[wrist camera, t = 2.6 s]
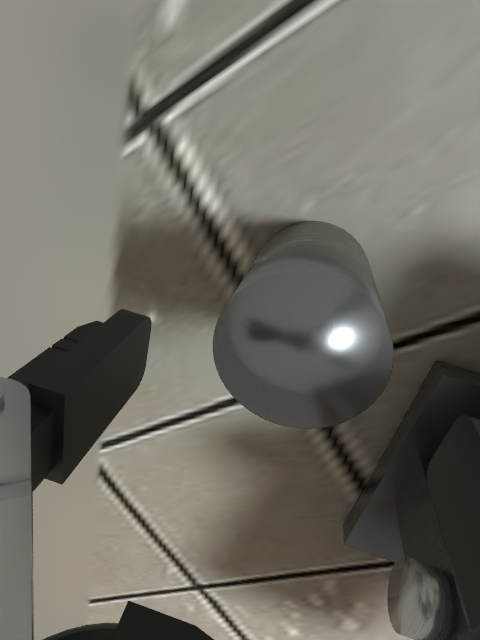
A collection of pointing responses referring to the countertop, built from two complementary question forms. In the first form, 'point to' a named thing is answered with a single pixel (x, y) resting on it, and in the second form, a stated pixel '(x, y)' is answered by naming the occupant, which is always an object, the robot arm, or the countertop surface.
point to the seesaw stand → (417, 512)
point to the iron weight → (305, 331)
